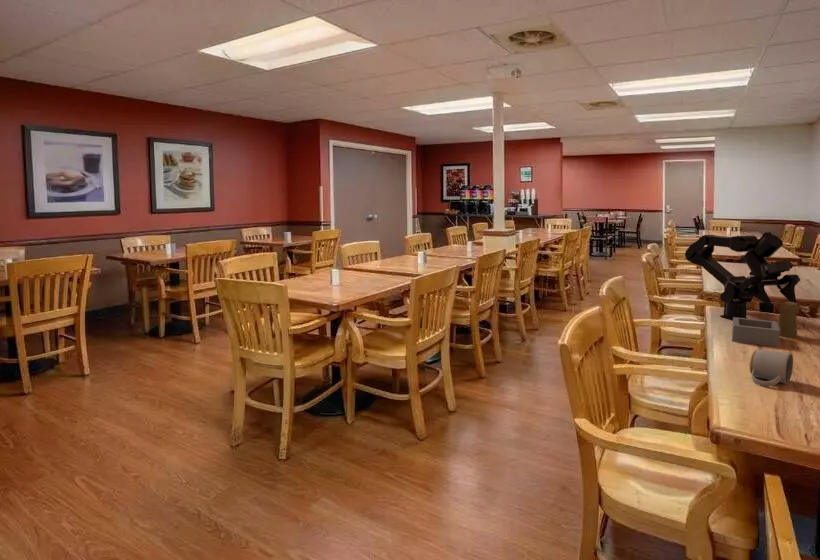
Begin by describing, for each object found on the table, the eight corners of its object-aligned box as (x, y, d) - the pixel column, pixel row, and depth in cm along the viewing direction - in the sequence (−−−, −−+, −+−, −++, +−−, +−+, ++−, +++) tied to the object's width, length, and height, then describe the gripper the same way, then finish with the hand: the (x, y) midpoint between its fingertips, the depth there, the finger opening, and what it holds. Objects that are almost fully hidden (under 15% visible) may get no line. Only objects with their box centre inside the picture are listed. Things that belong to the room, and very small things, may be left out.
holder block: (731, 331, 179) (733, 317, 178) (775, 336, 173) (776, 321, 172) (732, 341, 169) (733, 325, 168) (778, 346, 163) (779, 330, 162)
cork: (790, 332, 177) (794, 300, 175) (801, 338, 171) (805, 304, 169) (770, 332, 177) (774, 300, 175) (781, 337, 172) (785, 304, 170)
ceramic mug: (755, 371, 142) (758, 343, 141) (792, 379, 136) (795, 350, 135) (743, 382, 135) (746, 353, 134) (781, 391, 129) (785, 361, 128)
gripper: (749, 252, 176) (774, 292, 167) (799, 250, 179) (825, 289, 170) (729, 272, 185) (751, 310, 176) (776, 270, 188) (800, 307, 179)
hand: (782, 304), depth 175 cm, fingers open, 9 cm apart
